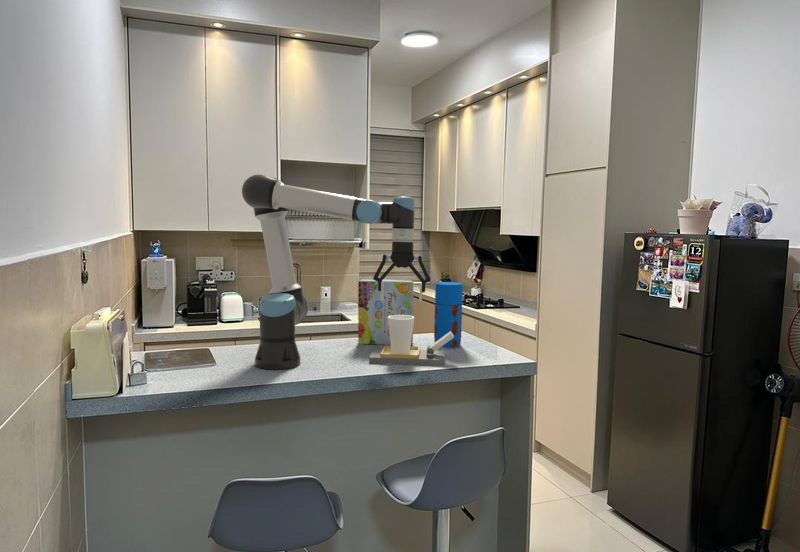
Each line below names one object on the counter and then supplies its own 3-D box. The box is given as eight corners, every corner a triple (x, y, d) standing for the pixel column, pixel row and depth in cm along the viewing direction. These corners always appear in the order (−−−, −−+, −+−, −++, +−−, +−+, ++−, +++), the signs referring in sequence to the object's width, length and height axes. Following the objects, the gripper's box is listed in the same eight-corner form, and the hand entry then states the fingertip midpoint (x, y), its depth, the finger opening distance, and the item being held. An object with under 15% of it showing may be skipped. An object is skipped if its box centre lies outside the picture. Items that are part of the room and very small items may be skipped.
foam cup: (410, 356, 188) (411, 320, 186) (385, 355, 189) (385, 318, 188) (415, 350, 197) (416, 315, 196) (390, 349, 199) (391, 314, 197)
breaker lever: (425, 351, 190) (450, 332, 189) (425, 348, 195) (450, 330, 194) (429, 356, 190) (454, 338, 189) (429, 353, 195) (454, 335, 194)
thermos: (430, 342, 221) (431, 282, 218) (454, 341, 224) (456, 281, 221) (439, 348, 210) (441, 285, 208) (465, 347, 213) (467, 284, 211)
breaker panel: (369, 362, 187) (369, 353, 187) (374, 353, 201) (374, 344, 201) (444, 365, 185) (444, 356, 185) (443, 355, 199) (444, 347, 199)
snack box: (413, 342, 222) (414, 279, 219) (410, 346, 213) (412, 282, 210) (361, 339, 225) (362, 278, 222) (357, 344, 216) (357, 280, 214)
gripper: (366, 240, 187) (365, 301, 189) (438, 242, 185) (436, 303, 187) (369, 239, 194) (367, 298, 196) (438, 241, 192) (436, 300, 194)
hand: (401, 301), depth 191 cm, fingers open, 13 cm apart
